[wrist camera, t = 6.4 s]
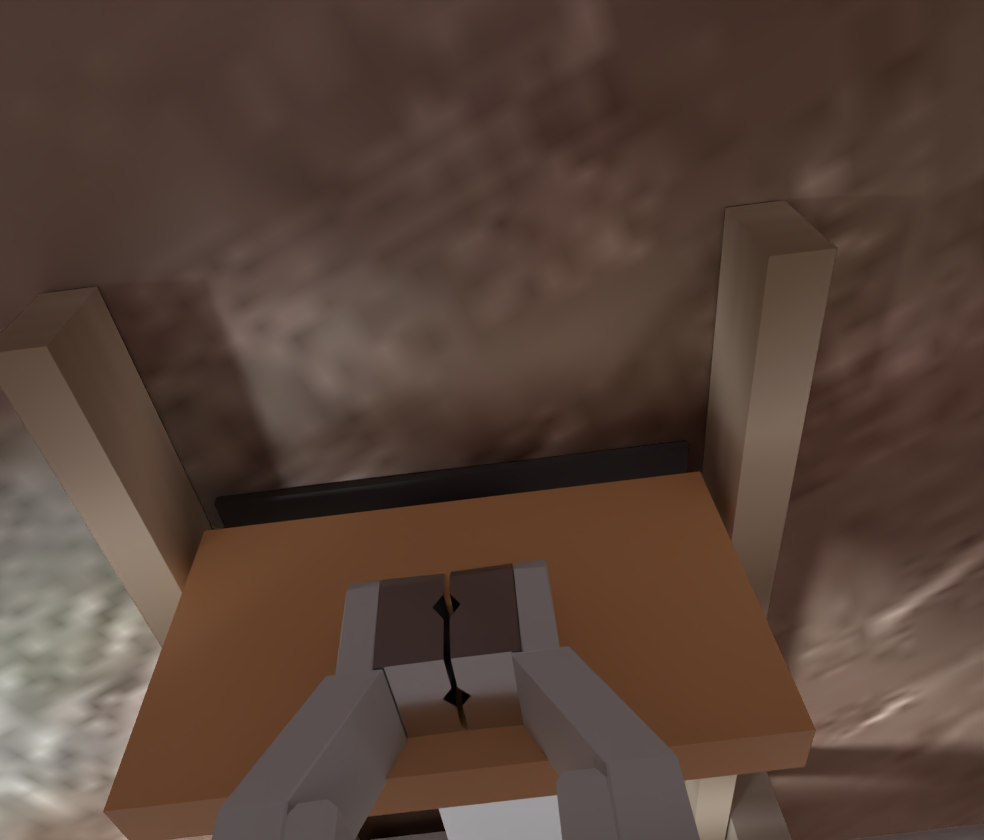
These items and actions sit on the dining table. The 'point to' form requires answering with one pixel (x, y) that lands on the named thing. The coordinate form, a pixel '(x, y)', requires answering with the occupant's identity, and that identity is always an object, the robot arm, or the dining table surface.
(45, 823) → the dining table surface
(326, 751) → the robot arm
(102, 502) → the tunnel track
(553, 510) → the sled fence
